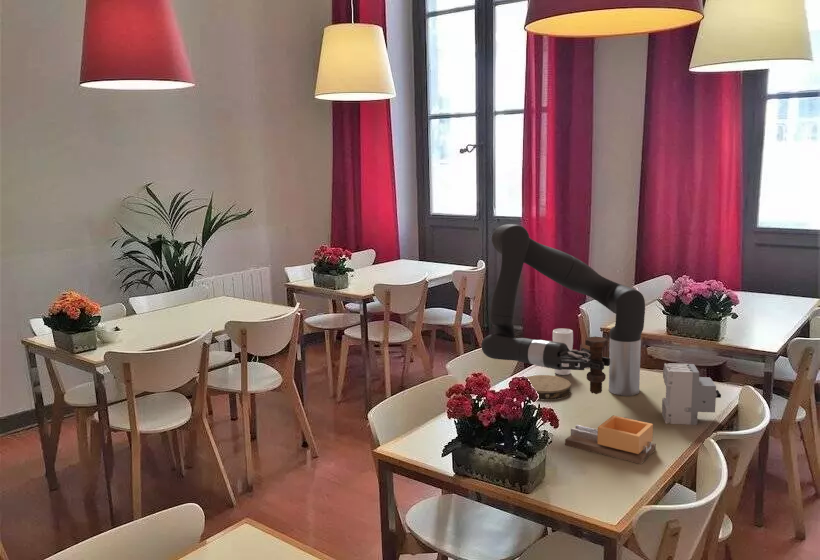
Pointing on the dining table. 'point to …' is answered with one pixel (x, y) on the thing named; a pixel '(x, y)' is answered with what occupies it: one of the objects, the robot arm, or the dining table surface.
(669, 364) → the circuit breaker
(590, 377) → the bolt
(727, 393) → the dining table surface
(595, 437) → the rail
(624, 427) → the orange open box
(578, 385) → the dining table surface
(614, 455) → the rail board
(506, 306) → the robot arm
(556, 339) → the drinking glass
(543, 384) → the brown round disc
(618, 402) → the dining table surface
